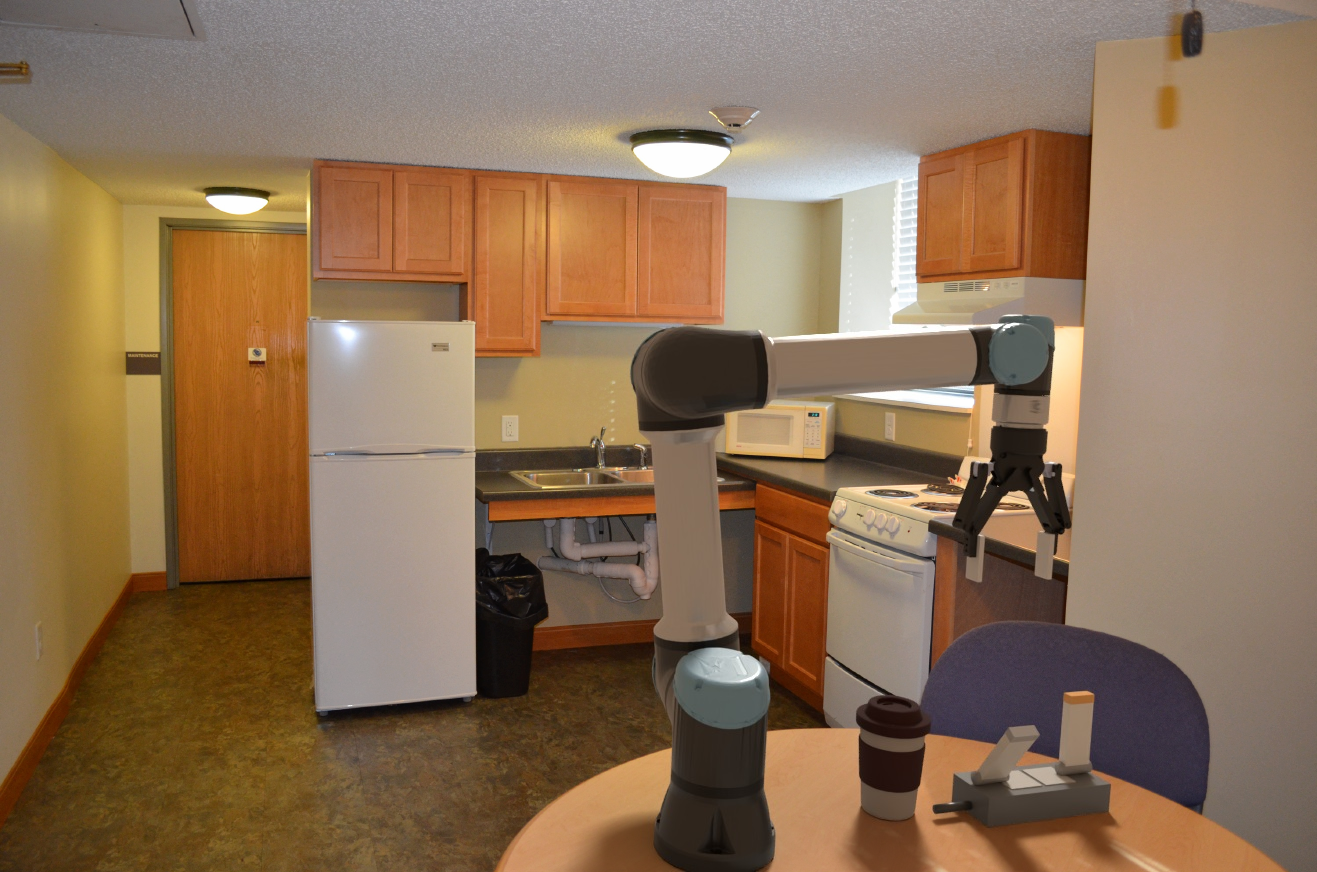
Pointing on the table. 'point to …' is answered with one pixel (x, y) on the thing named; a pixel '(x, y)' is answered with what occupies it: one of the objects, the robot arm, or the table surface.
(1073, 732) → the orange-capped paddle
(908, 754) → the coffee cup
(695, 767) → the robot arm
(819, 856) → the table surface
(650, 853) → the table surface
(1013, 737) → the grey-capped paddle
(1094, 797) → the power strip
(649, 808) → the table surface
